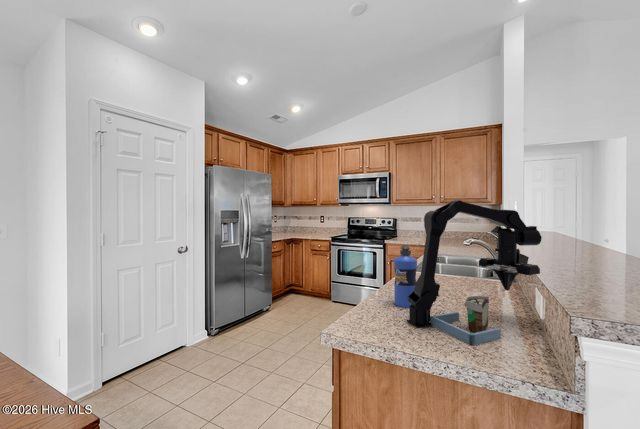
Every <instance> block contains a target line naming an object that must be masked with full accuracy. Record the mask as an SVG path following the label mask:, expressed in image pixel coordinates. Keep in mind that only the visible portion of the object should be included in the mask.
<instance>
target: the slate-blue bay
mask: <svg viewBox="0 0 640 429" xmlns="http://www.w3.org/2000/svg"><path fill="white" fill-rule="evenodd" d="M459 316H460V313H459V312H458V311H453V312H452V311H451V312H446V313H442V314H436V315H430V323H431V324H432V325H431V326H430V327H433V328H435V329H437V330H440V331H441V332H444V333H445V334H448V335H449V336H451V337H454V338H456V339H458V340H460V341H462V342H464V343H466V344H468V345H470V346H471V347H472V346H478V345H481V344H484V343H489V342H492V341H496V340H497V341H498V340H501V339H502V338H501V337H502V328H499V327H495V328H491V329H487V330H486V331H481V332H477V333H472V332H470V331H467V330H465V329H462V328H461V327H458V326H456V325H453V324H451V323H454V322H459V321H460V320H459V319H460V317H459Z"/></svg>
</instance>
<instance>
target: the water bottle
mask: <svg viewBox="0 0 640 429" xmlns="http://www.w3.org/2000/svg"><path fill="white" fill-rule="evenodd" d="M410 249H411V248H410V247H409V245H408V244H407V245H406V244H403V245H402V246H401V247H400V251H399V254H400V255H399V256H397V257H396V258H393V267H394V276H395V278H394V288H393V289H394V290H393V292H394V300H393V301H394V306H396V307H399V308H402V309H409V306H410V305H411V303H409V301H408V298H407V297H408V296H409V295H410V294H411V293H412V292H413V291H414V288H415V285H416V282H417V277H416V276H417V270H418V259H416V258H414V257H412V256H411V250H410Z"/></svg>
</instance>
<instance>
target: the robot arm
mask: <svg viewBox="0 0 640 429" xmlns="http://www.w3.org/2000/svg"><path fill="white" fill-rule="evenodd" d="M458 213H459V214H462V215H463V214H465V215H467V216H473V217H477V218H481V219H485V220H487V221H489V222H490V223H492V224H495V225H497V226H495V227H494V228H493V229H492V230H491V231H490V232H491V233H492V234H497V248H494V252H497V258H494V257H493V258H492V257H481V258H480V259H479V261H478V266H479V267H482V268H487V267H488V266H492V267H493V269H492V271H493V272H494V273H495V275H496V276H497V278H498V279H499V281H500V283H501V285H502V286H503V288H504V290H505V291H510V289H511V286H512V284H513V282H514V280H515V278H516V277H517V276H518V275H525V276H533V275H540V274H541V269H540V267H539V265H538V264H534V263H533V264H532V263H528V262H529V260H530V259H529V258H530V257H529V256H527V255H526V254H522V253H521V250H520V248H518V247H517V245H518V246H522V247H523V246H525V247H527V246H538V245H540V244H541V243H542V239H543V238H542V235H541V233H540V231H539V230H538V228H537V226H536V225H528V226H527V225H526V224H525V222H524V221H523V220H522V219H521V217H520V213H519V212H518V211H516V210H513V209H498V208H490V207H487V206H486V207H485V206H483V205H477V204H473V203H470V202H465V201H462V200H459V199H458V200H451V201H450V202H448V203H446V204H445V205H443V206H440V207H438V208H437V209H435V210H429V211H427V212H426V213H425V214H424V217H423V221H424V222H423V225H424V226H423V227H424V231H425V236H426V237H425V242H424V243H425V244H424V250H423V257H422V263H421V271H420V275H419V277H418V278H417V279H416V285H415V288H414V291H413V292H412V293H411V294H410V295H409V296H408V297H407V298H408V301H409V303H411V305H410V306H409V308H408V309H409V315H408V316H409V318H408V319H406V323H408V324H411V326H414V327H416V328H421V329H422V328H425V327H432V326H431V325H432V324H431V323H430V316H431V309H432V307H433V303H434V302H436V301H437V298H438V297H440V293H439V292H440V288H441V284H440V283H437V281H436V279H435V278H436V276H435V275H436V270H437V261H438V256H439V248H440V243H441V242H440V241H441V236H442V235H443V234H444V231H445V230H446V227H447V225H448V221H450V220H452V219H453V218H454V217H455V216H457V214H458Z"/></svg>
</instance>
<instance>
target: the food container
mask: <svg viewBox="0 0 640 429" xmlns="http://www.w3.org/2000/svg"><path fill="white" fill-rule="evenodd" d="M489 305H490V298H489V296H482V295H472V296H471V295H470V296H468V297H467V298H466V299H465V301H464V306H465V308H466V313H467V327H468V332H469V333H477V332H481V331H486V330H488V329H489V307H490V306H489Z"/></svg>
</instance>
